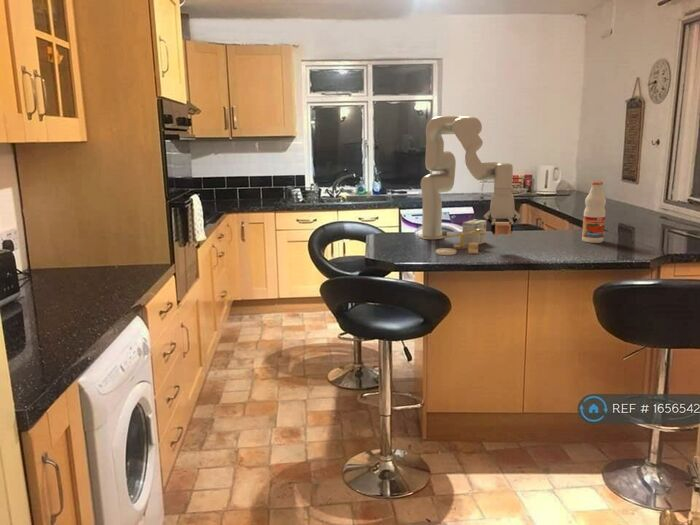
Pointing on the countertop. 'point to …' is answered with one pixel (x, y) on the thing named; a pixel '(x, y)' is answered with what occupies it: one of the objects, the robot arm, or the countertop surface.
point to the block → (473, 247)
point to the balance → (461, 246)
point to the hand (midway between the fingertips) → (501, 232)
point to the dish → (445, 251)
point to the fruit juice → (594, 214)
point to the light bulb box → (474, 237)
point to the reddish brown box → (502, 228)
